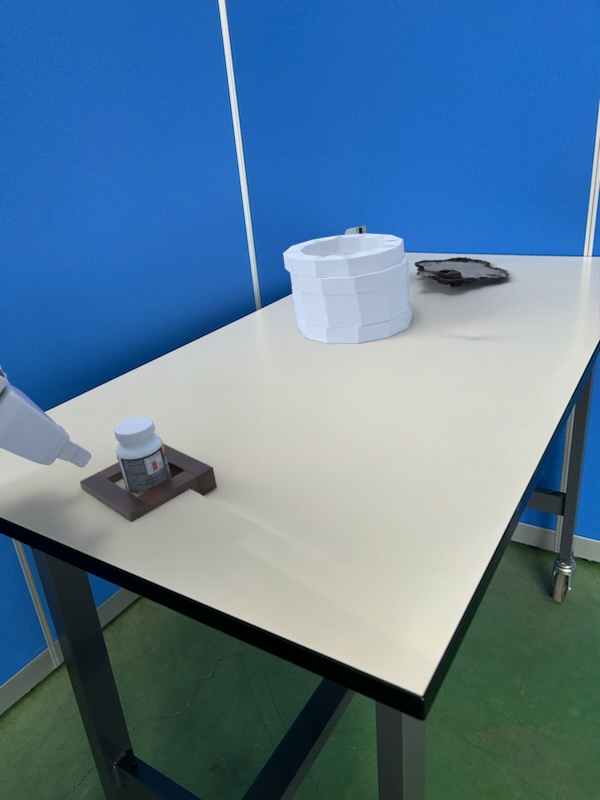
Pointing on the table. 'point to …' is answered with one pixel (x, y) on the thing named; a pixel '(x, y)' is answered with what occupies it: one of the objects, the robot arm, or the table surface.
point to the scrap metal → (459, 270)
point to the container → (350, 287)
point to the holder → (131, 507)
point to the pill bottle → (141, 455)
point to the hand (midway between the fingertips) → (73, 447)
